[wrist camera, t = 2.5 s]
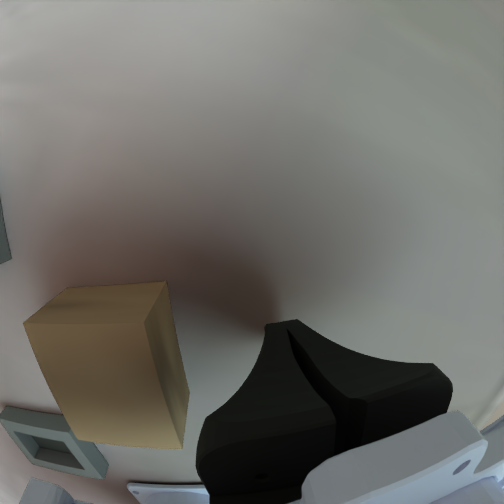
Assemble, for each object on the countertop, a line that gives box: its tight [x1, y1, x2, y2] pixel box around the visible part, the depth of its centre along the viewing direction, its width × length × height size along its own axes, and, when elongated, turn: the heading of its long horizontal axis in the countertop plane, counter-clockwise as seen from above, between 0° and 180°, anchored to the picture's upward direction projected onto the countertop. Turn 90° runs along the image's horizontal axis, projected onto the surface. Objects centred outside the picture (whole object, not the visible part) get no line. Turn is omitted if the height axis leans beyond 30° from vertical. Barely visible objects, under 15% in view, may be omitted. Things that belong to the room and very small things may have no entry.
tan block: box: [23, 281, 190, 449], centre depth 11 cm, size 6×5×4 cm
